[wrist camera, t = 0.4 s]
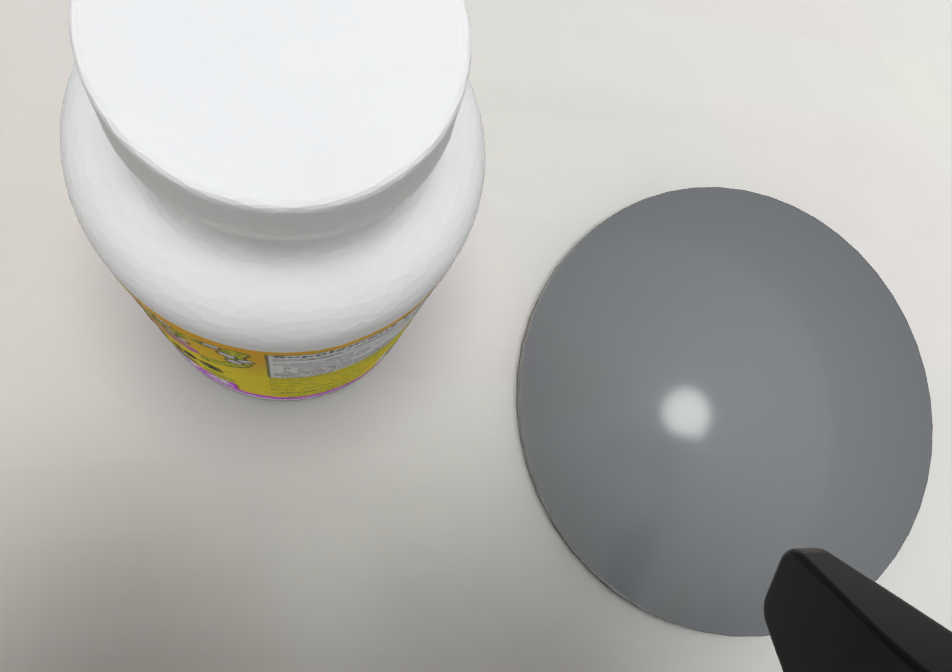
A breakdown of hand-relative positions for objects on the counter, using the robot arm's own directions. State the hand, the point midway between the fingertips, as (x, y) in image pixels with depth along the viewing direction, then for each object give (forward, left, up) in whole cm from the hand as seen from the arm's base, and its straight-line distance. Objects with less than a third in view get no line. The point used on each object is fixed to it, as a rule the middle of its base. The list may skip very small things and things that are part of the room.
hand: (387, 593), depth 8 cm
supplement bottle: (+7, -1, -13) cm, 15 cm away
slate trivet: (-1, -12, -13) cm, 18 cm away
